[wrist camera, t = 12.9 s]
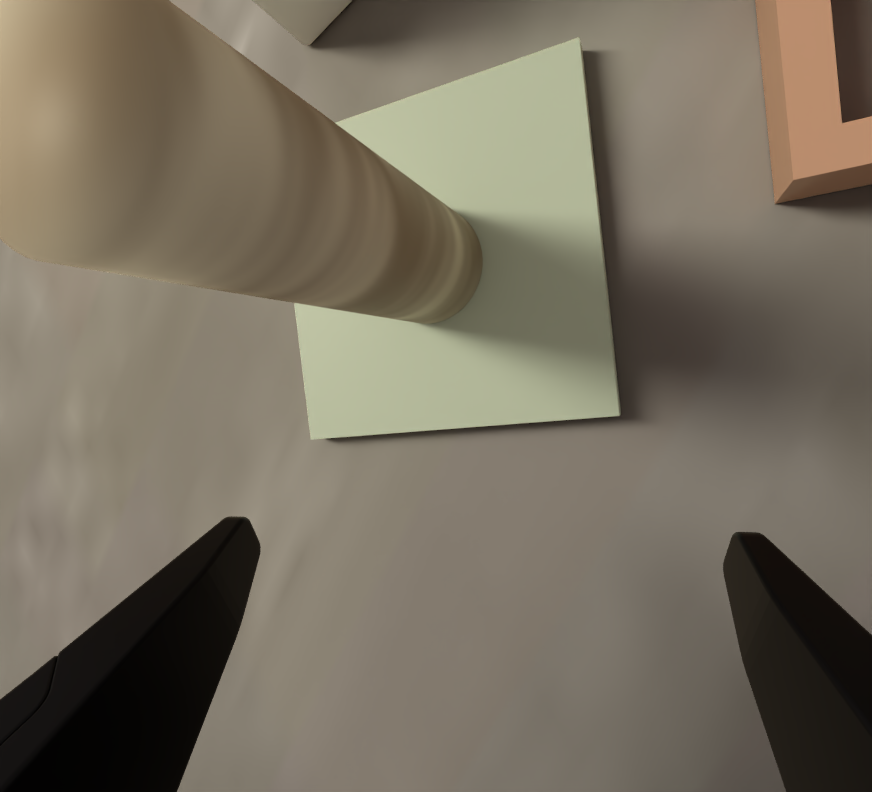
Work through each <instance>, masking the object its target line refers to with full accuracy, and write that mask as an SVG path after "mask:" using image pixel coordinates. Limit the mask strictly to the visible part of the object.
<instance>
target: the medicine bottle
mask: <svg viewBox="0 0 872 792" xmlns="http://www.w3.org/2000/svg"><path fill="white" fill-rule="evenodd" d="M252 1H253V2H255V3H256V4H257V5H258V6H259V7H260V8H261V9H263V10H264V11H265V12H266V13H267V14H268V15H269V16H271V17H272V18H273V19H274V20H275V21H276V22H277V23H279V24H280V25H281V26H282V27H283V28H284V29H285V30H287V31H288V32H289V33H290V34H291V35H292V36H293V37H295V38H296V39H297V40H298V41H299V42H300V43H301V44H303V45H310V44H311V43H312V42H313V41H314V40H315V39H316V38H317V37H318V36H319V35H320V34H321V33H322V32H323V31H324V30H325V29H326V28H327V27H328V25H329V24H330V23H331V22H332V21H333V20H334V19H335V18H336V17H337V16H338V15H339V14H340V13H341V12H342V11H343V10H344V9H345V8H346V7H347V5H348V4H349V3H350V2H351V1H352V0H252Z"/></svg>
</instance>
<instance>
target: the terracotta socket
mask: <svg viewBox="0 0 872 792" xmlns="http://www.w3.org/2000/svg"><path fill="white" fill-rule="evenodd" d="M755 4H756V14H757V24H758V34H759V45H760V55H761V65H762V76H763V86H764V96H765V106H766V117H767V127H768V137H769V147H770V158H771V168H772V178H773V189H774V199H775V204H777V203H782V202H787V201H792V200H797V199H802V198H807V197H812V196H816V195H821V194H826V193H831V192H836V191H841V190H846V189H851V188H856V187H861V186H866V185H871V184H872V116H870V117H866V118H862V119H858V120H854V121H850V122H845V123H842V118H841V107H840V96H839V86H838V75H837V64H836V54H835V43H834V32H833V22H832V11H831V0H755Z"/></svg>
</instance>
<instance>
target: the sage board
mask: <svg viewBox="0 0 872 792" xmlns="http://www.w3.org/2000/svg"><path fill="white" fill-rule="evenodd" d="M336 124H337V125H338V126H340V127H341V128H342V129H344V130H345V131H346V132H348V133H349V134H350V135H352V136H353V137H355V138H356V139H357V140H359V141H360V142H361V143H363V144H364V145H365V146H367V147H368V148H369V149H371V150H372V151H374V152H375V153H376V154H378V155H379V156H380V157H382V158H383V159H384V160H386V161H387V162H388V163H390V164H391V165H393V166H394V167H395V168H397V169H398V170H399V171H401V172H402V173H403V174H405V175H406V176H407V177H409V178H410V179H412V180H413V181H414V182H416V183H417V184H418V185H420V186H421V187H422V188H424V189H425V190H426V191H428V192H429V193H431V194H432V195H433V196H435V197H436V198H437V199H439V200H440V201H441V202H443V203H444V204H445V205H447V206H448V207H450V208H451V209H452V210H454V211H455V212H456V213H458V214H459V215H460V216H462V217H463V218H464V219H465V220H466V221H467V222H468V223H469V224H470V225H471V226H472V228H473V229H474V231H475V233H476V235H477V237H478V239H479V242H480V245H481V249H482V257H483V265H482V273H481V278H480V281H479V284H478V287H477V289H476V291H475V293H474V295H473V296H472V298H471V299H470V301H469V302H468V303H467V304H466V305H465V307H464V308H463V309H462V310H460V311H459V312H458V313H457V314H455V315H454V316H452V317H450V318H448V319H446V320H444V321H441V322H437V323H431V324H422V323H415V322H409V321H403V320H396V319H390V318H384V317H378V316H372V315H366V314H360V313H354V312H348V311H341V310H335V309H329V308H323V307H317V306H311V305H305V304H299V303H294V305H295V314H296V322H297V330H298V338H299V346H300V355H301V363H302V371H303V379H304V387H305V396H306V404H307V412H308V420H309V428H310V437H311V439H325V438H338V437H351V436H364V435H377V434H390V433H403V432H416V431H429V430H442V429H455V428H468V427H481V426H494V425H507V424H520V423H533V422H546V421H559V420H572V419H585V418H598V417H612V416H620V414H621V409H620V399H619V390H618V381H617V371H616V362H615V352H614V343H613V333H612V324H611V315H610V305H609V296H608V286H607V277H606V267H605V258H604V249H603V239H602V230H601V220H600V211H599V201H598V192H597V183H596V173H595V164H594V154H593V145H592V135H591V126H590V117H589V107H588V98H587V88H586V79H585V69H584V60H583V51H582V46H581V42H580V38H579V37H578V38H576V39H573V40H570V41H567V42H564V43H561V44H558V45H556V46H553V47H550V48H547V49H544V50H541V51H539V52H536V53H533V54H530V55H527V56H524V57H521V58H519V59H516V60H513V61H510V62H507V63H504V64H501V65H499V66H496V67H493V68H490V69H487V70H484V71H482V72H479V73H476V74H473V75H470V76H467V77H464V78H462V79H459V80H456V81H453V82H450V83H447V84H444V85H442V86H439V87H436V88H433V89H430V90H427V91H425V92H422V93H419V94H416V95H413V96H410V97H407V98H405V99H402V100H399V101H396V102H393V103H390V104H388V105H385V106H382V107H379V108H376V109H373V110H370V111H368V112H365V113H362V114H359V115H356V116H353V117H350V118H348V119H345V120H342V121H339V122H336Z"/></svg>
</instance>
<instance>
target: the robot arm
mask: <svg viewBox="0 0 872 792" xmlns="http://www.w3.org/2000/svg"><path fill="white" fill-rule="evenodd" d="M259 556H260V543H259V540H258V538H257V536H256V533H255V531H254V529H253V527H252V524H251V522H250V520H249V519H248V518H246V517H232V516H231V517H226V518H224V519H223V520H222V521H220V522H219V523H218V524H217V525H215V526H214V527H213V528H212V529H211V530H209V531H208V532H207V533H206V534H204V535H203V536H202V537H201V538H200V539H198V540H197V541H196V542H195V543H193V544H192V545H191V546H190V547H188V548H187V549H186V550H185V551H184V552H182V553H181V554H180V555H179V556H177V557H176V558H175V559H174V560H172V561H171V562H170V563H169V564H168V565H166V566H165V567H164V568H163V569H161V570H160V571H159V572H158V573H156V574H155V575H154V576H153V577H152V578H150V579H149V580H148V581H147V582H145V583H144V584H143V585H142V586H140V587H139V588H138V589H137V590H136V591H134V592H133V593H132V594H131V595H129V596H128V597H127V598H126V599H124V600H123V601H122V602H121V603H120V604H118V605H117V606H116V607H115V608H113V609H112V610H111V611H110V612H108V613H107V614H106V615H105V616H104V617H102V618H101V619H100V620H99V621H97V622H96V623H95V624H94V625H92V626H91V627H90V628H89V629H88V630H86V631H85V632H84V633H83V634H81V635H80V636H79V637H78V638H76V639H75V640H74V641H73V642H72V643H70V644H69V645H68V646H67V647H65V648H64V649H63V650H62V651H60V653H59V654H58V656H54V657H53V658H52V659H50V660H49V661H48V662H47V663H46V664H44V665H43V666H42V667H41V668H39V669H38V670H37V671H36V672H34V673H33V674H32V675H31V676H29V677H28V678H27V679H26V680H24V681H23V682H22V683H20V684H19V685H18V686H17V687H15V688H14V689H13V690H12V691H10V692H9V693H8V694H7V695H5V696H4V697H3V698H1V699H0V792H177V790H178V787H179V785H180V782H181V780H182V777H183V775H184V772H185V769H186V767H187V764H188V762H189V759H190V756H191V754H192V751H193V749H194V746H195V743H196V741H197V738H198V736H199V733H200V730H201V728H202V725H203V723H204V720H205V717H206V715H207V712H208V710H209V707H210V704H211V702H212V699H213V697H214V694H215V692H216V689H217V686H218V684H219V681H220V679H221V676H222V673H223V671H224V668H225V666H226V663H227V660H228V658H229V655H230V653H231V650H232V647H233V645H234V642H235V640H236V637H237V634H238V631H239V628H240V625H241V622H242V619H243V615H244V612H245V608H246V604H247V601H248V597H249V593H250V590H251V586H252V582H253V579H254V575H255V571H256V567H257V564H258V560H259ZM723 572H724V578H725V582H726V587H727V592H728V596H729V601H730V606H731V610H732V615H733V620H734V624H735V629H736V634H737V638H738V643H739V647H740V652H741V656H742V660H743V664H744V667H745V670H746V673H747V677H748V679H749V682H750V685H751V688H752V691H753V694H754V697H755V700H756V703H757V706H758V709H759V712H760V715H761V718H762V721H763V724H764V727H765V730H766V733H767V736H768V739H769V742H770V745H771V748H772V751H773V754H774V757H775V760H776V763H777V765H778V768H779V771H780V774H781V777H782V780H783V783H784V786H785V789H786V792H872V635H871V634H870V633H869V632H868V631H867V630H866V629H865V628H863V627H862V626H861V625H860V624H859V623H858V622H857V621H856V620H855V619H854V618H853V617H852V616H851V615H849V614H848V613H847V612H846V611H845V610H844V609H843V608H842V607H841V606H840V605H839V604H838V603H836V602H835V601H834V600H833V599H832V598H831V597H830V596H829V595H828V594H827V593H826V592H825V591H824V590H822V589H821V588H820V587H819V586H818V585H817V584H816V583H815V582H814V581H813V580H812V579H811V578H810V577H808V576H807V575H806V574H805V573H804V572H803V571H802V570H801V569H800V568H799V567H798V566H797V565H795V564H794V563H793V562H792V561H791V560H790V559H789V558H788V557H787V556H786V555H785V554H784V553H783V552H781V551H780V550H779V549H778V548H777V547H776V546H775V545H774V544H773V543H772V542H771V541H770V540H769V539H767V538H766V537H765V536H764V535H762V534H760V533H756V532H736V533H734V534H733V536H732V538H731V541H730V544H729V547H728V550H727V553H726V556H725V559H724V563H723Z"/></svg>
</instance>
